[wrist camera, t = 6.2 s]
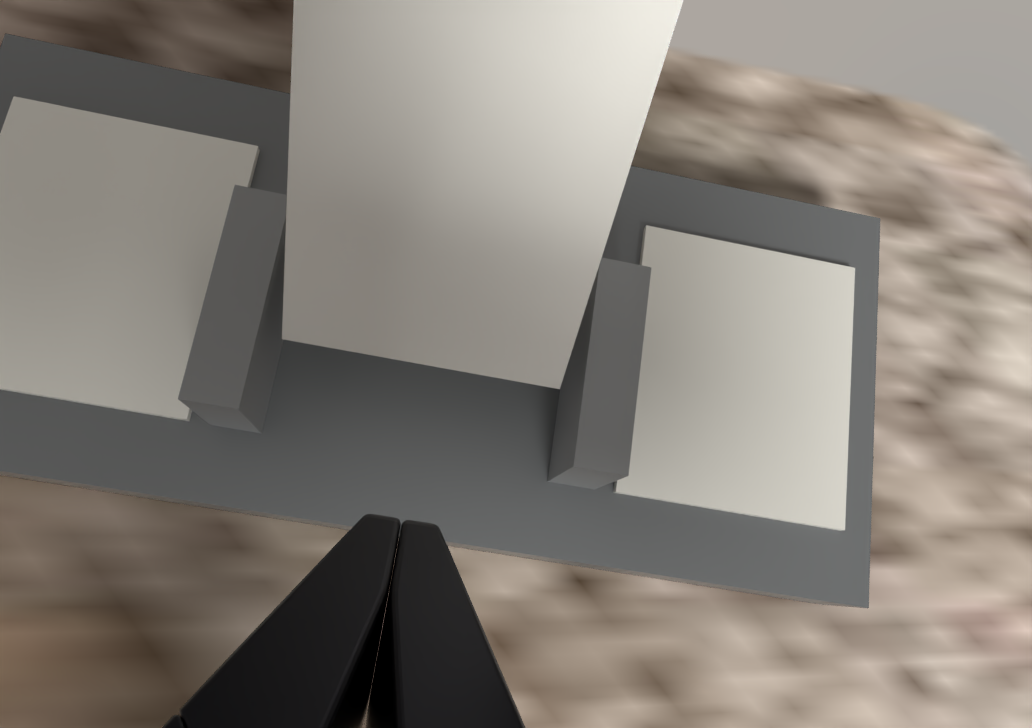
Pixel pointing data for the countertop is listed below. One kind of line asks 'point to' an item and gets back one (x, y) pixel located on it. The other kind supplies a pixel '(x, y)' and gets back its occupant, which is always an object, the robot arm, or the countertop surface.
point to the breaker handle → (460, 173)
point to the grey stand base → (416, 387)
